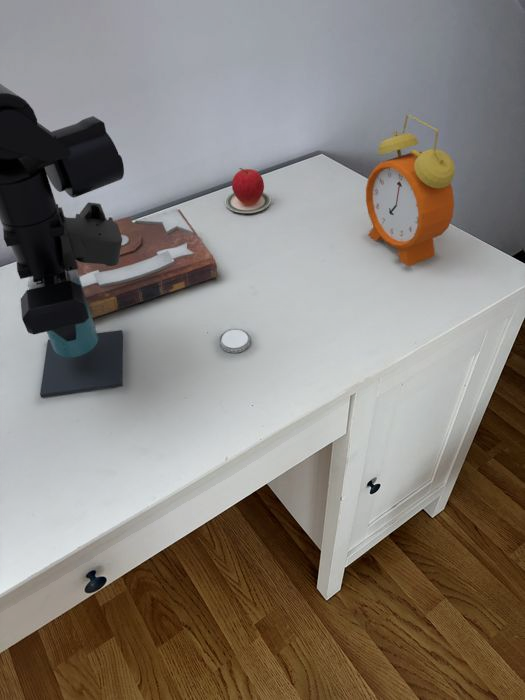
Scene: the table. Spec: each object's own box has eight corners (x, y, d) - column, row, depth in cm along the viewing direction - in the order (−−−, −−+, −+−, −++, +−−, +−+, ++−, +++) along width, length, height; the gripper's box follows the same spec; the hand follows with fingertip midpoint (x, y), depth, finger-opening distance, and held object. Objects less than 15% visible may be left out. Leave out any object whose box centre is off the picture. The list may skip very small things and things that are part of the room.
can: (51, 360, 69) (24, 296, 62) (55, 329, 73) (30, 266, 66) (97, 354, 69) (76, 290, 62) (99, 324, 73) (79, 260, 66)
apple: (221, 195, 103) (218, 162, 99) (264, 189, 105) (263, 156, 100) (230, 218, 98) (227, 184, 93) (275, 211, 99) (274, 177, 94)
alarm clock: (359, 231, 94) (372, 110, 80) (388, 220, 96) (406, 101, 82) (412, 273, 86) (437, 146, 71) (442, 260, 88) (473, 134, 73)
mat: (41, 397, 70) (39, 394, 70) (48, 342, 77) (47, 339, 77) (122, 386, 71) (121, 383, 71) (122, 332, 78) (122, 329, 78)
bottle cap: (251, 351, 75) (250, 347, 74) (220, 353, 74) (220, 350, 74) (248, 330, 77) (248, 327, 77) (219, 333, 77) (219, 329, 77)
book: (69, 333, 79) (60, 307, 76) (43, 267, 88) (33, 242, 84) (218, 282, 86) (216, 257, 83) (180, 226, 95) (177, 201, 92)
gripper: (122, 243, 53) (149, 358, 65) (95, 158, 66) (121, 267, 77) (-1, 269, 51) (49, 384, 62) (-5, 176, 64) (38, 285, 75)
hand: (69, 324), depth 69 cm, fingers closed on can, 5 cm apart
